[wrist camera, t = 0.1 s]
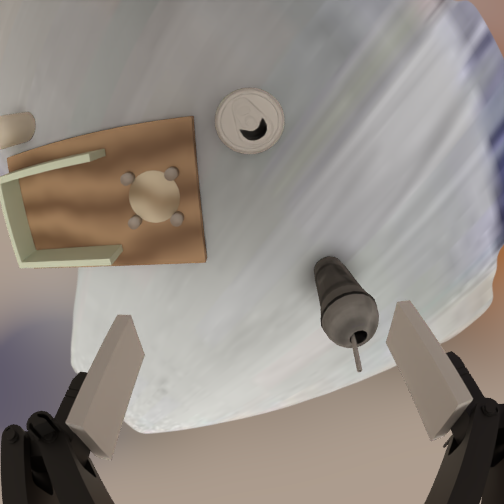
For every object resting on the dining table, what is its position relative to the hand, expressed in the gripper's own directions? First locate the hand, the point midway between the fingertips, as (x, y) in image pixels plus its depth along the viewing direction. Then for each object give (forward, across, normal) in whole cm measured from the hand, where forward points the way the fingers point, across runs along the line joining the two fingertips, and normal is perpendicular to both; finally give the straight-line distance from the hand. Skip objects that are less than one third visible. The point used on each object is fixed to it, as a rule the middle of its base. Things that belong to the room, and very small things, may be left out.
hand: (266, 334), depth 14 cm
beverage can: (+28, 0, +9) cm, 30 cm away
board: (+28, -23, 0) cm, 36 cm away
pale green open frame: (+26, -29, 0) cm, 39 cm away
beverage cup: (+28, +11, -13) cm, 33 cm away
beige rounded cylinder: (+28, -35, +14) cm, 47 cm away
